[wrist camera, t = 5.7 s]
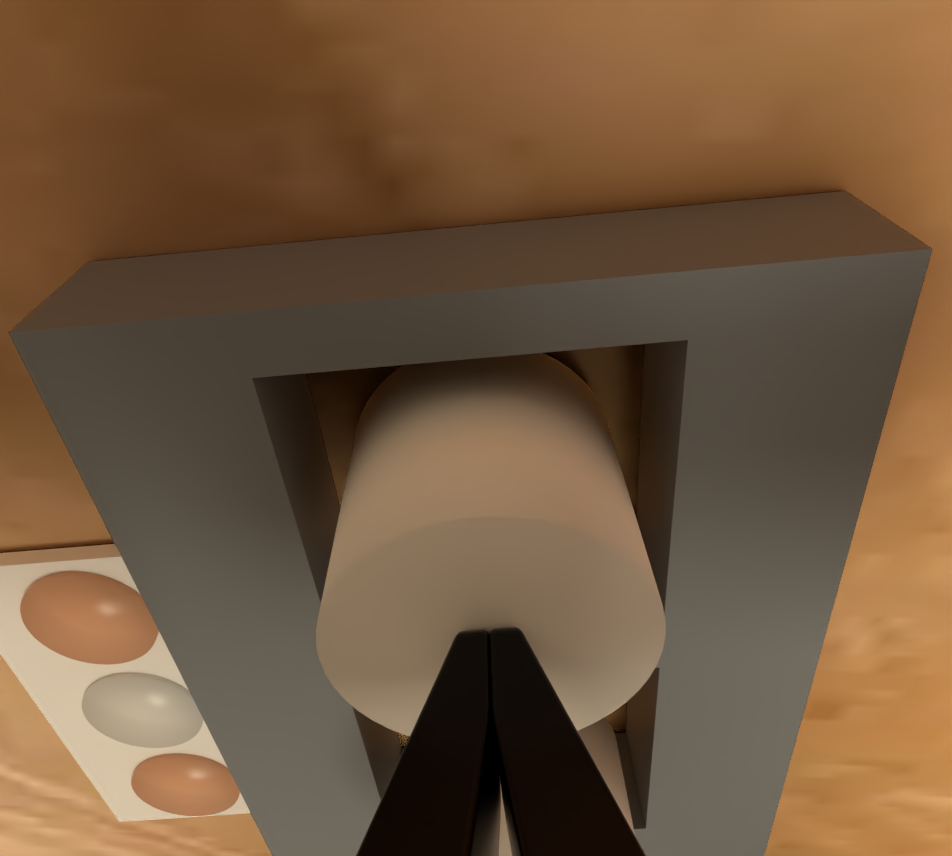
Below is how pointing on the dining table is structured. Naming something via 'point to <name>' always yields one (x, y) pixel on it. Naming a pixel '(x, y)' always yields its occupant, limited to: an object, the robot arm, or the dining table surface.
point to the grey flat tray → (481, 336)
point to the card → (110, 684)
